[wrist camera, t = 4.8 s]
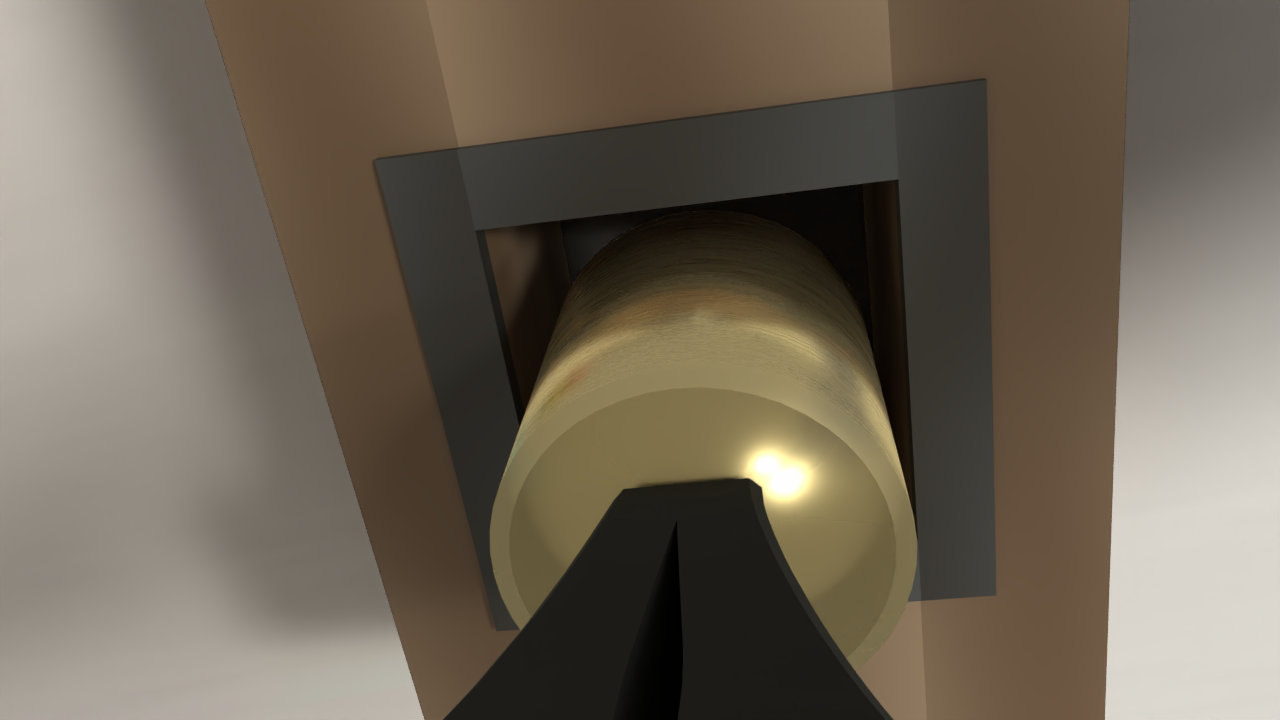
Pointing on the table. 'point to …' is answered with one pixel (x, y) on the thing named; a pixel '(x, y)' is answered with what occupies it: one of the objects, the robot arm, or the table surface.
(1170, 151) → the table surface
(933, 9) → the wooden block
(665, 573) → the robot arm
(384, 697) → the table surface
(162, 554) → the table surface
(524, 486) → the brass peg
